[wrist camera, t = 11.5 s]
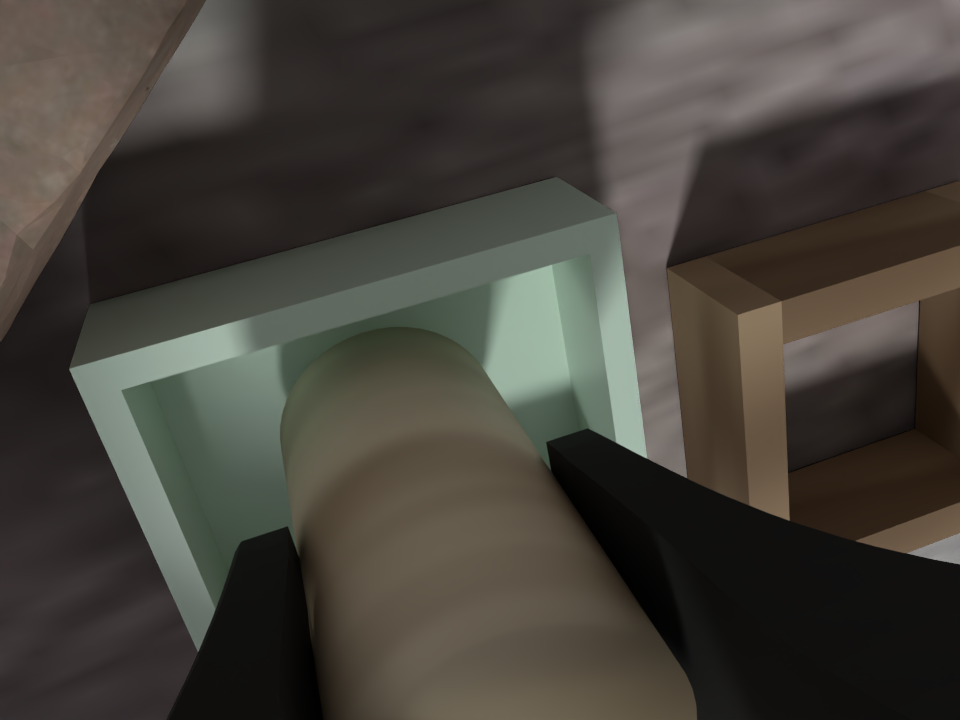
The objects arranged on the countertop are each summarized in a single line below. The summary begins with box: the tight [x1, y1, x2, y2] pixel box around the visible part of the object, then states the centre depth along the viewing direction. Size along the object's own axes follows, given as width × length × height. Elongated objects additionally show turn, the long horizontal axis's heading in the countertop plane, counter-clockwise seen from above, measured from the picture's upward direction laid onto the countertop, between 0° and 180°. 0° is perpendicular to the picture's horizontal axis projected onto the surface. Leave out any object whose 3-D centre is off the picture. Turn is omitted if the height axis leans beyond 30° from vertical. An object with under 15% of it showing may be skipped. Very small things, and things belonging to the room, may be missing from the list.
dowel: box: [280, 327, 697, 720], centre depth 12 cm, size 4×4×7 cm
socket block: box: [667, 181, 960, 553], centre depth 17 cm, size 6×6×2 cm
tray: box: [69, 177, 647, 651], centre depth 15 cm, size 6×8×2 cm
